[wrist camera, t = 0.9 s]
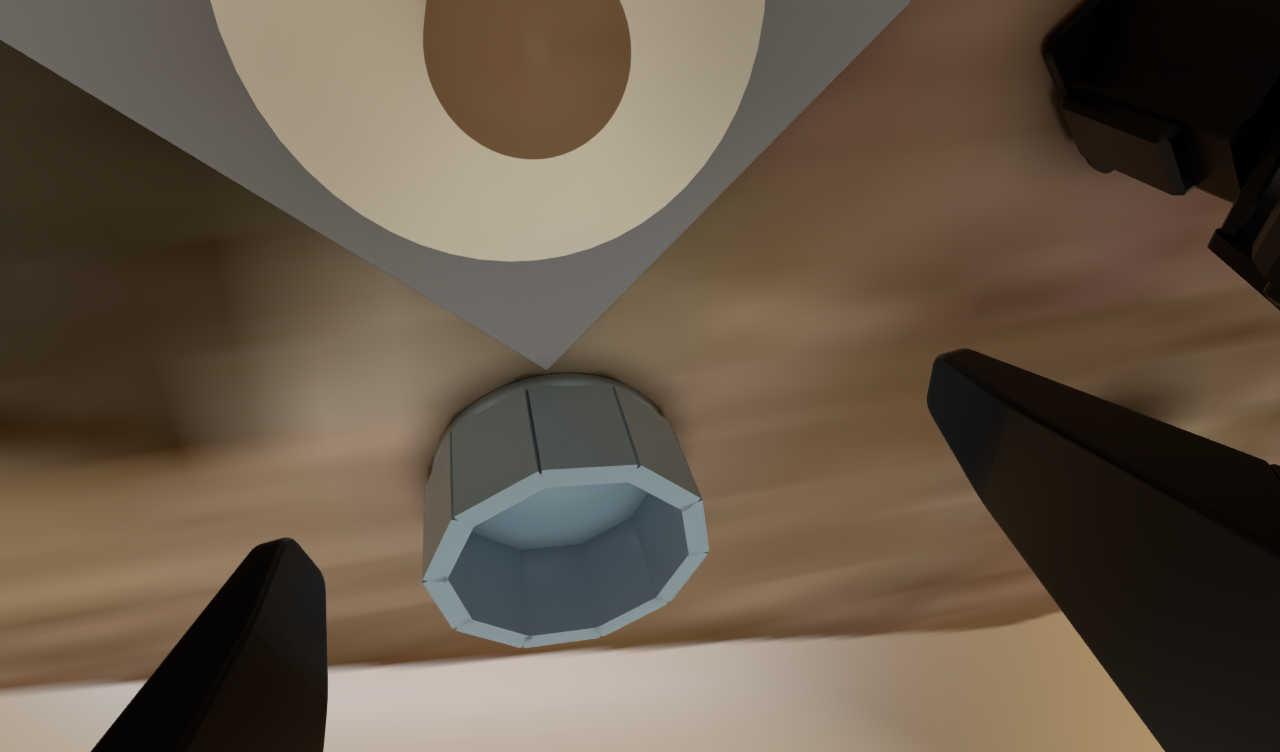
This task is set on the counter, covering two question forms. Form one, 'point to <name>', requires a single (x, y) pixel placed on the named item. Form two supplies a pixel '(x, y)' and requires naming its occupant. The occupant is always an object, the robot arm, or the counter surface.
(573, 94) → the lid
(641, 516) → the bowl
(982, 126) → the counter surface
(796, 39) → the mat
